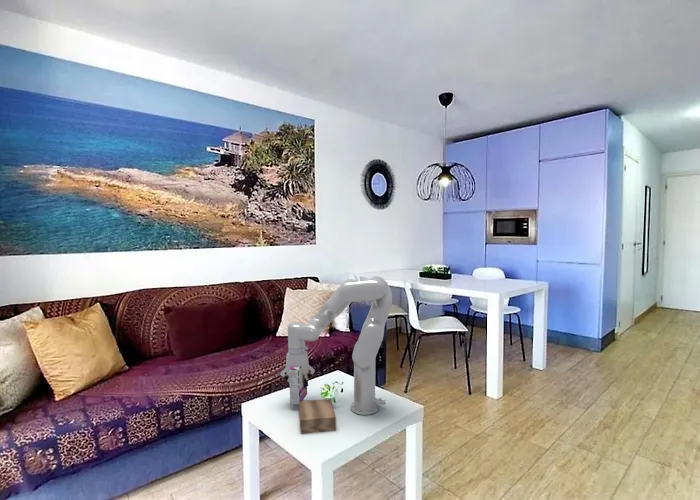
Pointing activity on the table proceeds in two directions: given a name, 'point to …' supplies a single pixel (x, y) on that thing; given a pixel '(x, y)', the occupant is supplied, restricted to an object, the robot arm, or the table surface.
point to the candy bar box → (296, 385)
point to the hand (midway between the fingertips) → (298, 388)
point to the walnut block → (317, 416)
